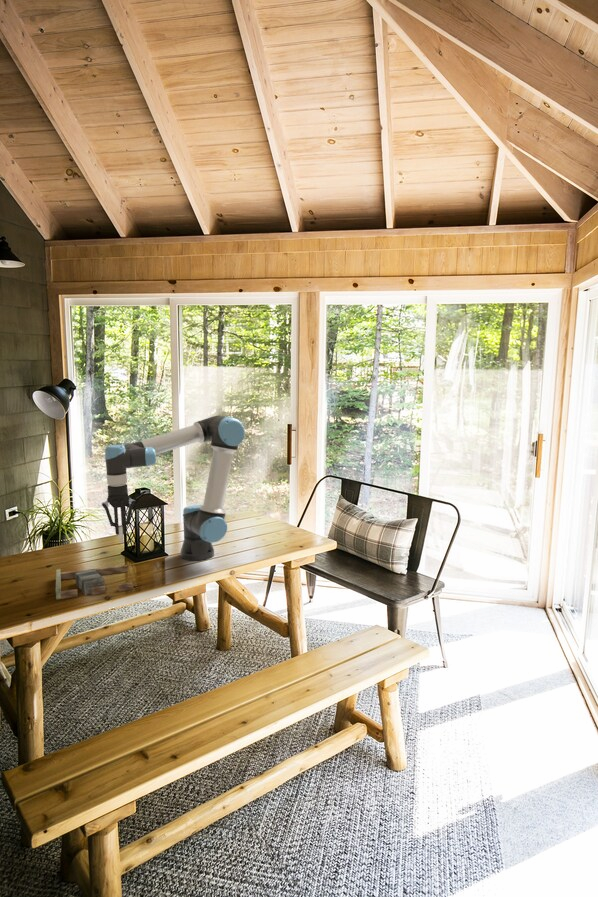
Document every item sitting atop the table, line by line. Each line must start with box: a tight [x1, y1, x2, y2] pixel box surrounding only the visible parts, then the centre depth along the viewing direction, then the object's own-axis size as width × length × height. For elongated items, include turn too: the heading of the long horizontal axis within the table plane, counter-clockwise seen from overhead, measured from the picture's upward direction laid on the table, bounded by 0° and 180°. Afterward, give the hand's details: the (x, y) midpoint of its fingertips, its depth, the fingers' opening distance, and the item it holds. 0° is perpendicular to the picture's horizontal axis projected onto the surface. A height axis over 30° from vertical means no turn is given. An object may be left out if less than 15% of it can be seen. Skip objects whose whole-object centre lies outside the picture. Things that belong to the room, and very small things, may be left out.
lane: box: [55, 564, 133, 600], centre depth 243 cm, size 28×23×4 cm
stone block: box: [74, 570, 107, 595], centre depth 240 cm, size 9×14×5 cm, turn 33°
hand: (121, 542), depth 245 cm, fingers closed
